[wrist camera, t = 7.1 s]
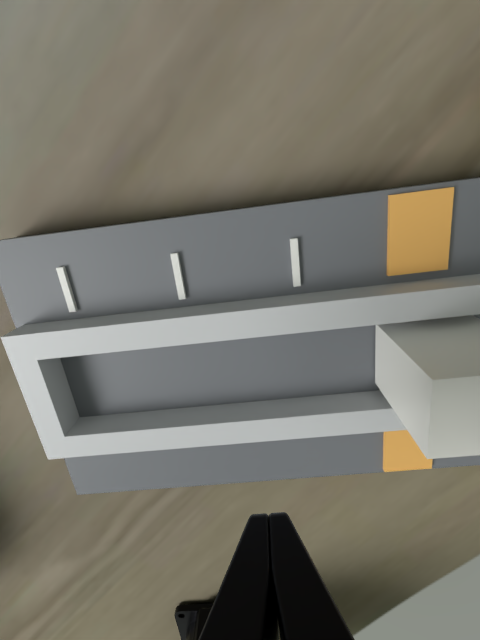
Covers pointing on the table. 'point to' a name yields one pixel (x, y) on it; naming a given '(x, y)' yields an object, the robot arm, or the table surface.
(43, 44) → the table surface
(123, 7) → the table surface
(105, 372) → the console
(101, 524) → the table surface
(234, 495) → the table surface
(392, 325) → the fader knob
